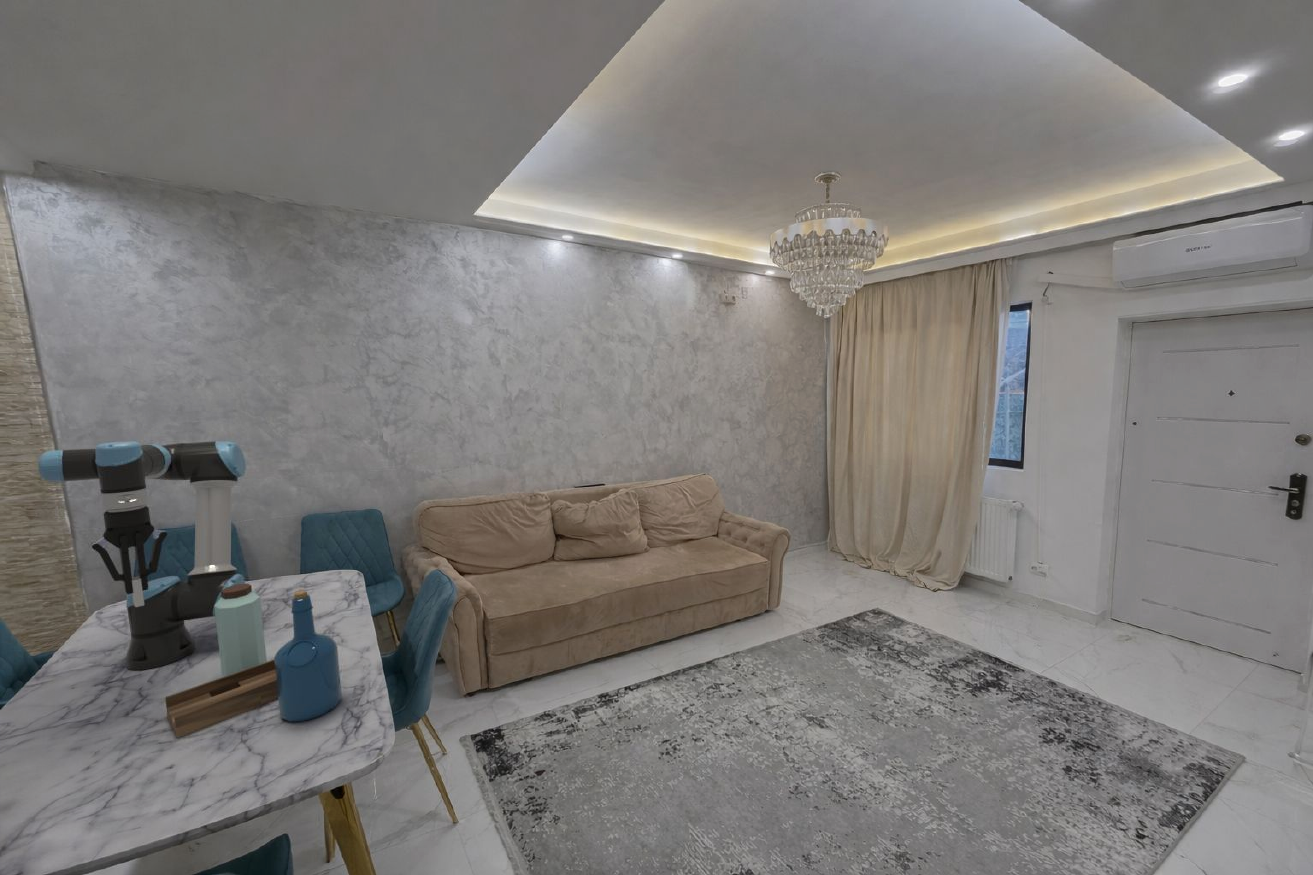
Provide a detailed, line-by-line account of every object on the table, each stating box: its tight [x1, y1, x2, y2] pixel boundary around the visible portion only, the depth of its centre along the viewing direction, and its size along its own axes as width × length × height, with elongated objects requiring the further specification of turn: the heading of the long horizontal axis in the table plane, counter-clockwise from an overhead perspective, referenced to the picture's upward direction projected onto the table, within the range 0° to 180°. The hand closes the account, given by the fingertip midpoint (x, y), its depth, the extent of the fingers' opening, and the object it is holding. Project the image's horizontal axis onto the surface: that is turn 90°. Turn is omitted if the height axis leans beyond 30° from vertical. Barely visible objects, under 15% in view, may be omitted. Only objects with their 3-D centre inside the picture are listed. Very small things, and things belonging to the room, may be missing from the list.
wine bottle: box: [273, 590, 342, 723], centre depth 131 cm, size 14×13×30 cm
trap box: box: [164, 659, 278, 739], centre depth 137 cm, size 13×30×6 cm, turn 140°
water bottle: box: [214, 583, 268, 677], centre depth 147 cm, size 10×10×25 cm
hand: (139, 604), depth 126 cm, fingers closed
